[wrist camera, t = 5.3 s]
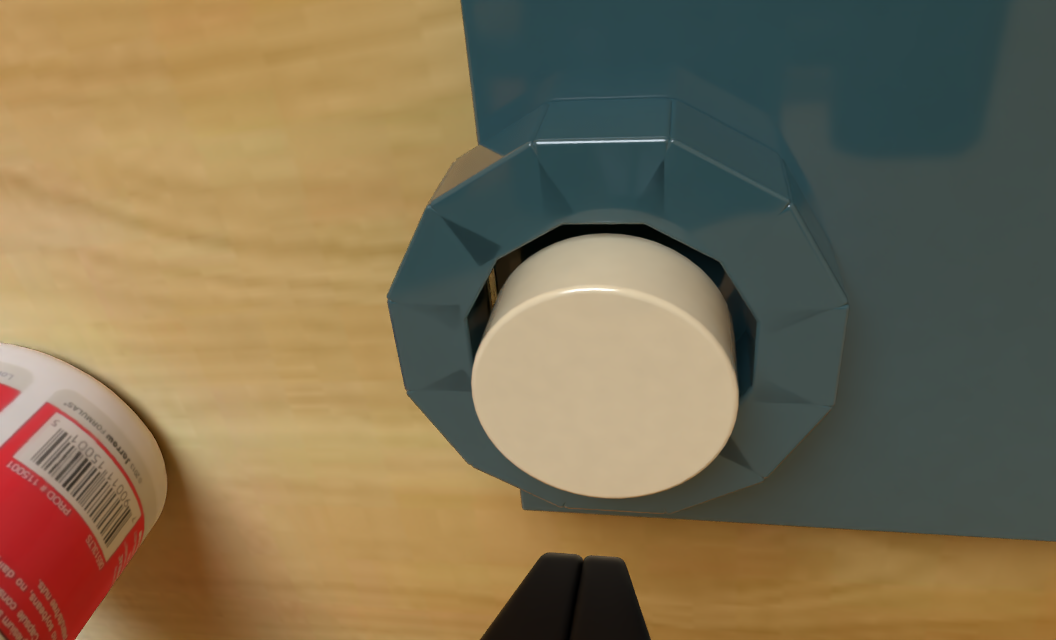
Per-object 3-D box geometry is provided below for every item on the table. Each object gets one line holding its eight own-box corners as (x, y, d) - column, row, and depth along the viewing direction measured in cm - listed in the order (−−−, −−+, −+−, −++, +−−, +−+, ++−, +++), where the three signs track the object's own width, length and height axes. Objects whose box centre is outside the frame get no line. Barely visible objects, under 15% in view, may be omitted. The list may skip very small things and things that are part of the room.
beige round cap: (504, 427, 14) (485, 493, 12) (478, 230, 12) (453, 286, 10) (728, 436, 13) (733, 508, 12) (741, 230, 11) (747, 289, 10)
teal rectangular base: (475, 460, 18) (440, 570, 15) (396, -41, 12) (324, 6, 10) (1423, 506, 15) (1570, 654, 12) (1861, -134, 9) (2283, -99, 7)
